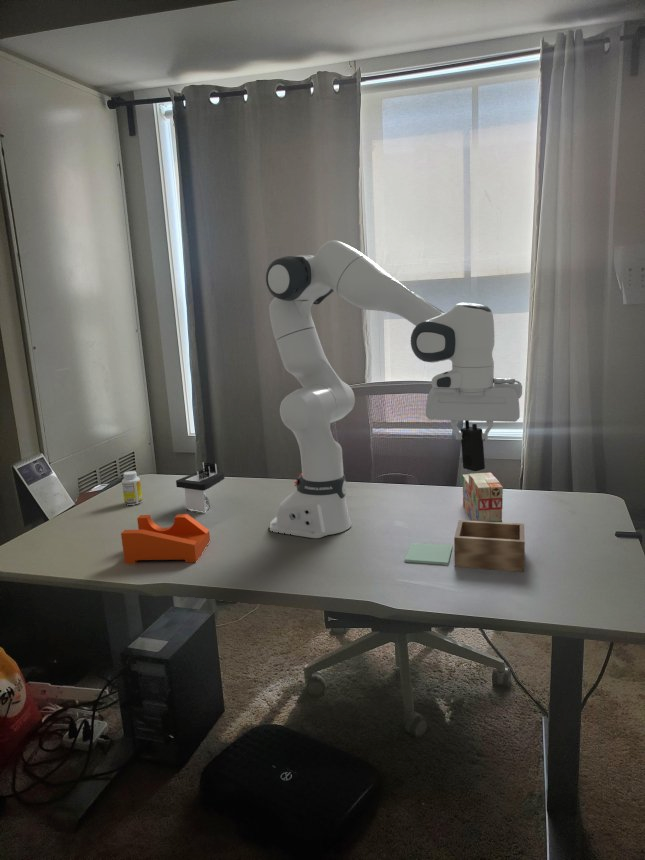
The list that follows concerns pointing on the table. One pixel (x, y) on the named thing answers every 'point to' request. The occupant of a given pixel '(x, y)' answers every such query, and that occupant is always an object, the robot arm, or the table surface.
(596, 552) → the table surface
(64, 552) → the table surface
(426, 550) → the place mat
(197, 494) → the black-topped pedestal
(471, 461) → the walkie-talkie
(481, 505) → the stack of blocks
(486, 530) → the access box
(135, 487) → the supplement bottle
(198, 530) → the orange cradle stand
